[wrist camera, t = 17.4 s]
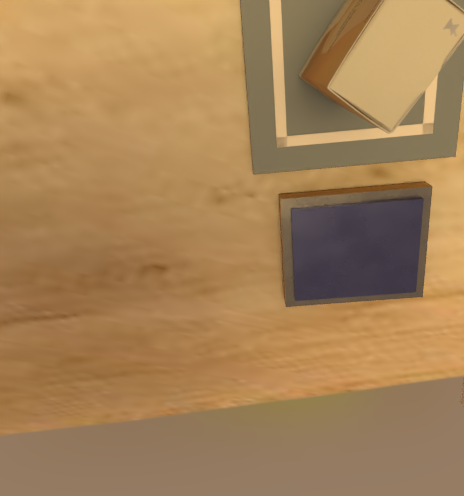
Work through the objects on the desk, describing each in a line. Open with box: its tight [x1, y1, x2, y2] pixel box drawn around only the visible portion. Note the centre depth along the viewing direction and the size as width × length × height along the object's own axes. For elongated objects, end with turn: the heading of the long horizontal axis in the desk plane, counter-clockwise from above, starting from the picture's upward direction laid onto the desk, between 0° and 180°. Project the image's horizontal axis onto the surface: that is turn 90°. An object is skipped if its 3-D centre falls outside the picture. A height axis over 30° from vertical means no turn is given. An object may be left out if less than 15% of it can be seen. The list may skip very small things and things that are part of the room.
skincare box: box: [299, 0, 464, 134], centre depth 26 cm, size 6×4×12 cm
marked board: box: [240, 0, 464, 174], centre depth 32 cm, size 16×16×1 cm
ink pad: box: [279, 182, 432, 307], centre depth 37 cm, size 12×10×2 cm
